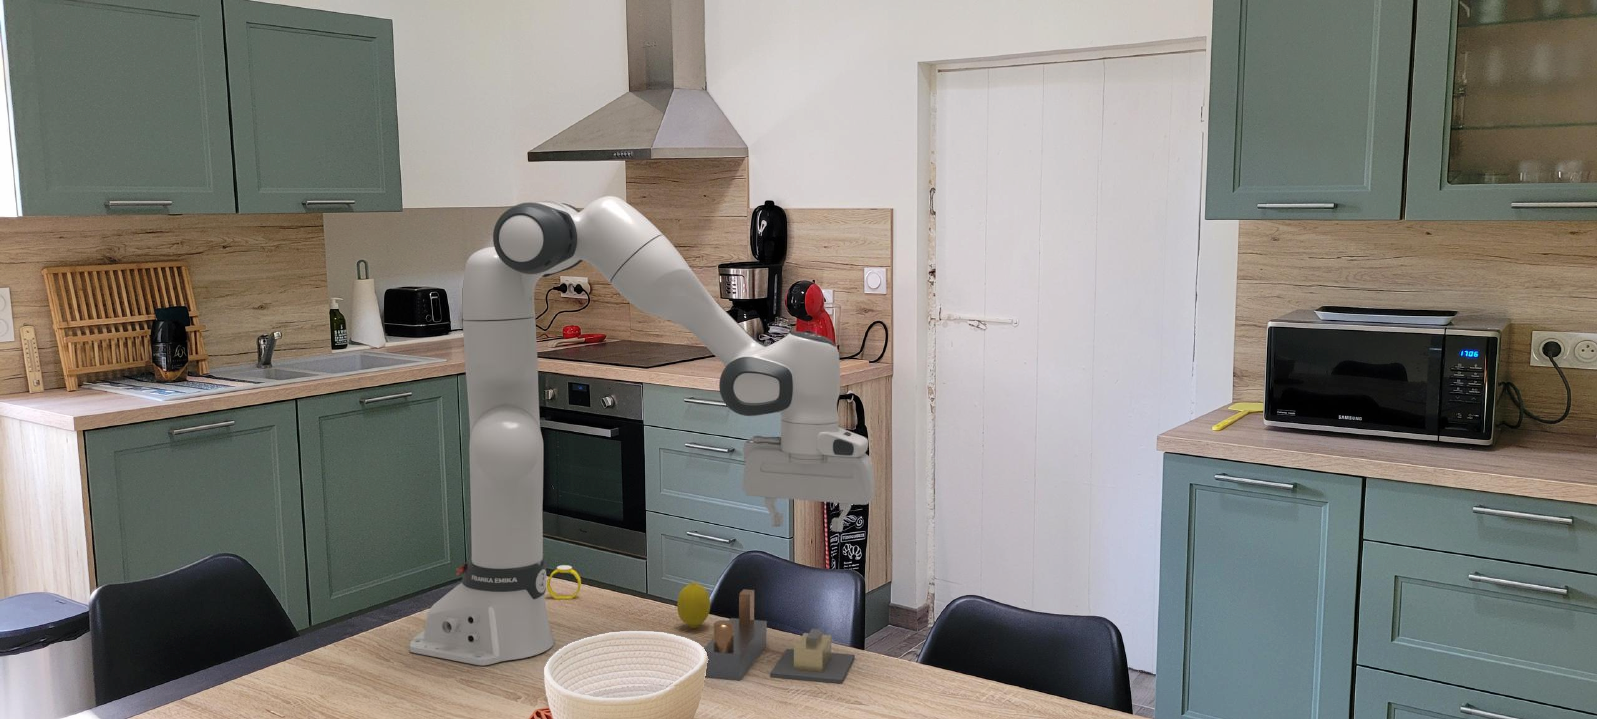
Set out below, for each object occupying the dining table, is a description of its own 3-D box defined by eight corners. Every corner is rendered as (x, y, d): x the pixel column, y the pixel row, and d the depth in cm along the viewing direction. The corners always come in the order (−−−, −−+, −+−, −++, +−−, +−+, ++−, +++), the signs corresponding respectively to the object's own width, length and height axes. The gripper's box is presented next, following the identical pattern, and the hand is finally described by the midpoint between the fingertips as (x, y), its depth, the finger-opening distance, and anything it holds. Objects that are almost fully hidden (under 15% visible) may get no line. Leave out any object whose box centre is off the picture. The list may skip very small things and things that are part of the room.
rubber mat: (770, 676, 175) (770, 672, 175) (786, 652, 185) (786, 648, 185) (841, 683, 172) (842, 679, 172) (854, 658, 183) (854, 654, 183)
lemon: (704, 634, 193) (705, 587, 192) (672, 632, 194) (673, 585, 194) (713, 624, 199) (714, 578, 198) (682, 621, 200) (682, 576, 199)
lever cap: (793, 670, 176) (794, 641, 175) (803, 654, 183) (804, 626, 182) (822, 672, 175) (822, 643, 174) (831, 656, 182) (831, 628, 181)
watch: (580, 597, 214) (583, 566, 213) (578, 602, 211) (580, 570, 210) (548, 595, 214) (550, 563, 213) (545, 599, 211) (547, 567, 210)
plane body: (701, 676, 174) (701, 618, 173) (730, 641, 190) (731, 588, 189) (740, 680, 173) (740, 621, 172) (766, 644, 189) (767, 590, 188)
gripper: (738, 437, 176) (736, 527, 177) (871, 446, 171) (868, 538, 172) (749, 431, 182) (747, 518, 183) (878, 440, 177) (875, 528, 179)
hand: (807, 528), depth 178 cm, fingers open, 8 cm apart
